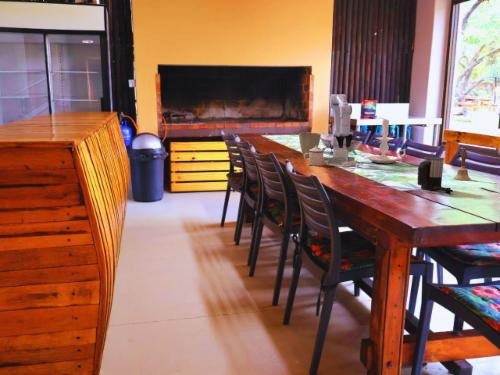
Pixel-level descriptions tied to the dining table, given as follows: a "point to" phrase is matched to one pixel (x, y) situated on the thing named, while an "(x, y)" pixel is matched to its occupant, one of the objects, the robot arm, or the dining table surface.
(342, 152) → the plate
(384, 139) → the candlestick
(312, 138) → the plant pot
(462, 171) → the hand bell
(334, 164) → the dish rack
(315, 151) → the teacup with lid
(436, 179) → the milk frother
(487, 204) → the dining table surface
